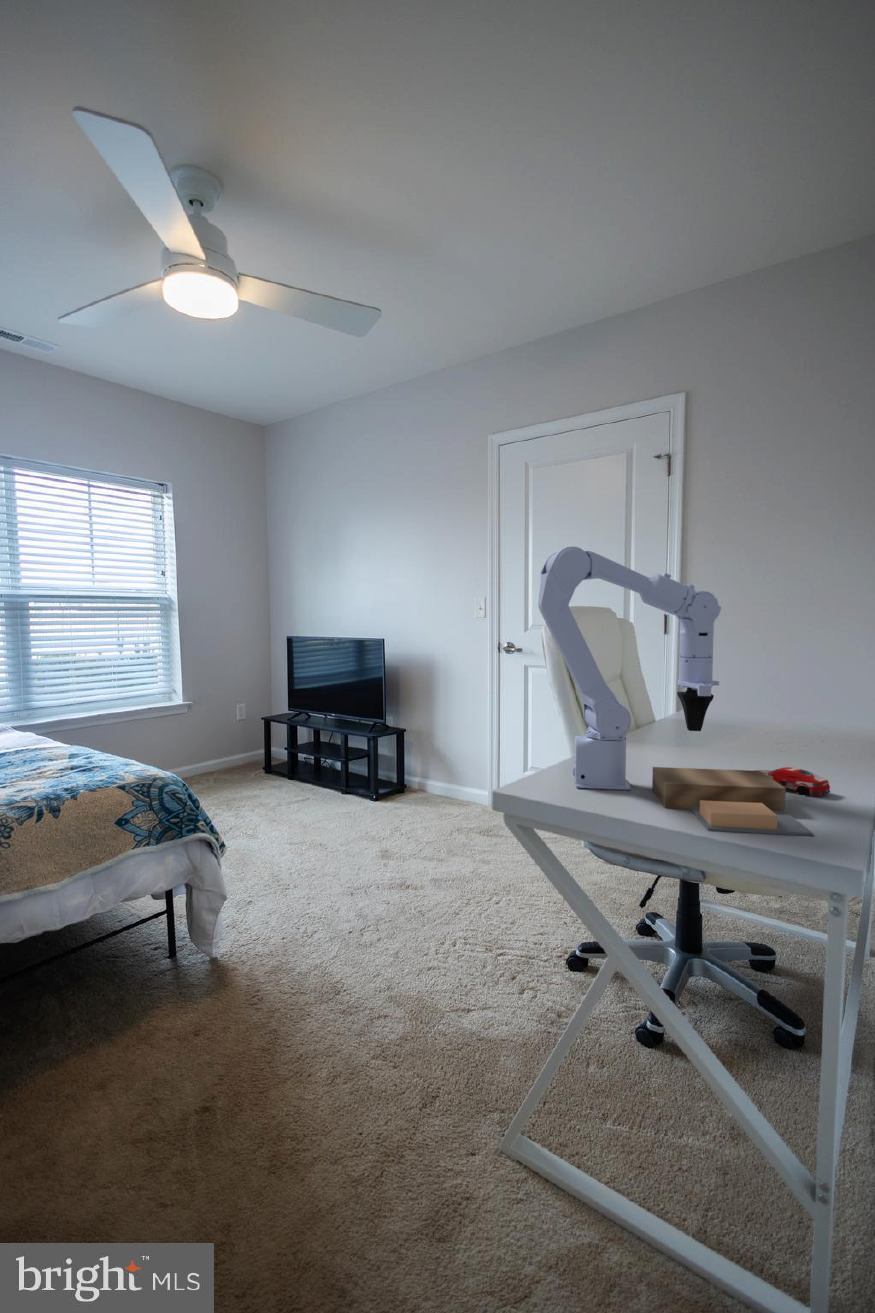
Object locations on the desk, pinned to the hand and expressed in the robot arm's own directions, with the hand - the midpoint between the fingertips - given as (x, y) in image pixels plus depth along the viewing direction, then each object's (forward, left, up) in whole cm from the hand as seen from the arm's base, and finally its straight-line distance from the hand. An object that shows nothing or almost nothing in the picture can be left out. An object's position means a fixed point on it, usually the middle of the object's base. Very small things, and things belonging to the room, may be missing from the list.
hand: (694, 730), depth 112 cm
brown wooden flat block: (+1, -11, -10) cm, 14 cm away
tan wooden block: (+1, -22, -8) cm, 23 cm away
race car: (+16, -1, -10) cm, 19 cm away
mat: (+3, -21, -10) cm, 23 cm away
